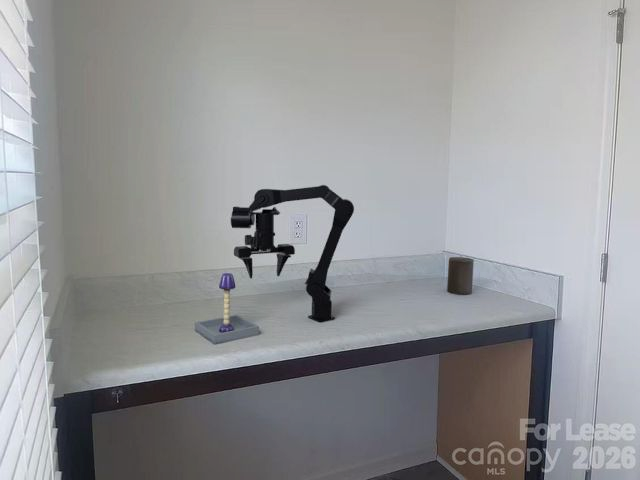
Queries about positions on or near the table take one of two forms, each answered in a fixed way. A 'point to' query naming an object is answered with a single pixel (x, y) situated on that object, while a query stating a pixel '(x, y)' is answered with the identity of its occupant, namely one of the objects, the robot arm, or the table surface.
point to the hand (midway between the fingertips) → (264, 277)
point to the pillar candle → (460, 275)
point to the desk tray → (212, 333)
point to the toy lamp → (226, 300)
